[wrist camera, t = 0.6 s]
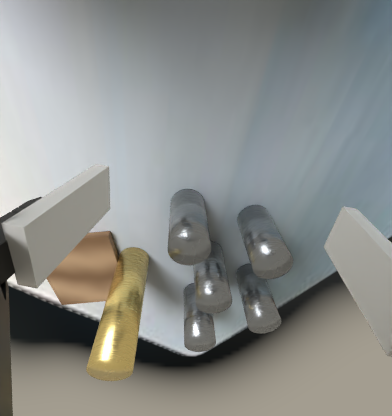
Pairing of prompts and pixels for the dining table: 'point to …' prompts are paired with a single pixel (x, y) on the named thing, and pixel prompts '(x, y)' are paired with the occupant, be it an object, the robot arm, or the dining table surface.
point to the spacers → (216, 272)
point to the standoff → (120, 319)
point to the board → (86, 270)
